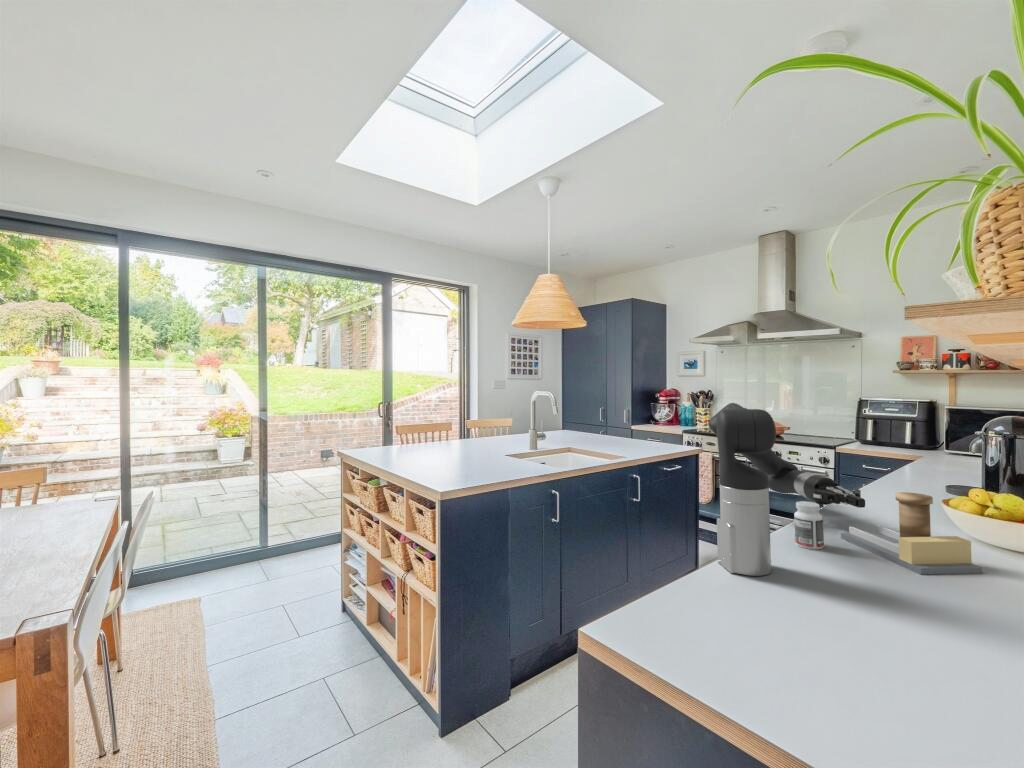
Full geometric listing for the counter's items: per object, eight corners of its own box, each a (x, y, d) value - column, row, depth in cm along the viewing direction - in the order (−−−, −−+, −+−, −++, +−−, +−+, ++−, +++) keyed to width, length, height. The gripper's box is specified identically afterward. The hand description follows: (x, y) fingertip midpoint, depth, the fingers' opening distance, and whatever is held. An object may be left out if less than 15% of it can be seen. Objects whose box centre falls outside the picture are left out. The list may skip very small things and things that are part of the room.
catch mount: (921, 574, 89) (919, 545, 89) (840, 537, 111) (840, 514, 111) (982, 573, 89) (981, 544, 89) (889, 536, 111) (889, 513, 111)
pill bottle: (815, 541, 109) (814, 500, 109) (829, 550, 103) (828, 506, 103) (790, 541, 109) (789, 500, 109) (803, 550, 104) (801, 506, 104)
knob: (913, 557, 94) (911, 499, 94) (890, 547, 100) (888, 492, 100) (942, 557, 94) (940, 498, 94) (917, 547, 100) (915, 492, 100)
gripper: (792, 475, 129) (835, 489, 112) (838, 474, 129) (888, 487, 112) (792, 501, 129) (836, 519, 112) (839, 500, 129) (889, 518, 112)
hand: (862, 503), depth 112 cm, fingers closed
